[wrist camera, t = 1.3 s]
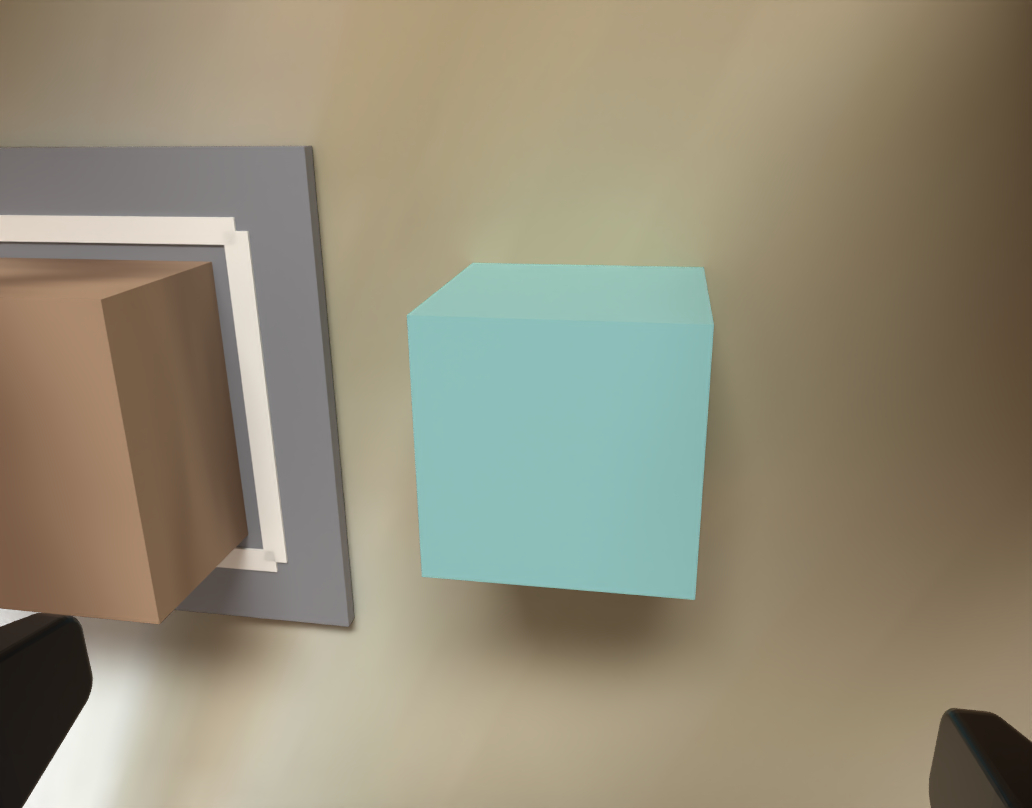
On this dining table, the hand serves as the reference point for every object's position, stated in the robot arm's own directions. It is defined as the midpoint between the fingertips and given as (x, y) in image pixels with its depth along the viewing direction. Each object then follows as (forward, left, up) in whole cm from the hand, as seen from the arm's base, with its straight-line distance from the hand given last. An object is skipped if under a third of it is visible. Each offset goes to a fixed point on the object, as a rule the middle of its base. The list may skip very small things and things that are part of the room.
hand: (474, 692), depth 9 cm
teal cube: (0, 0, -11) cm, 11 cm away
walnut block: (+12, +1, -11) cm, 16 cm away
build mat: (+12, +1, -11) cm, 16 cm away
